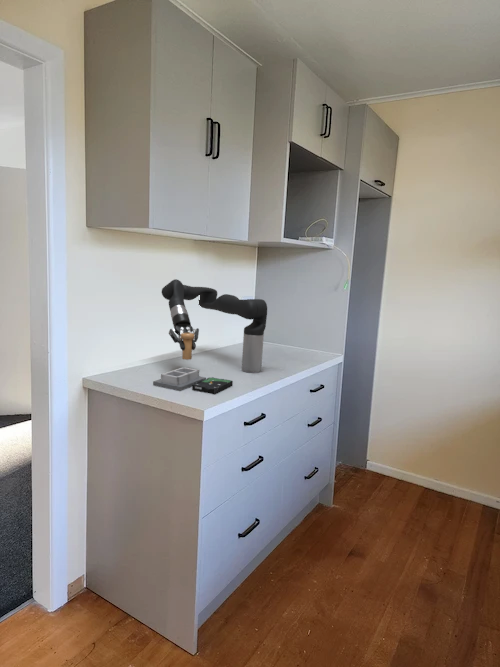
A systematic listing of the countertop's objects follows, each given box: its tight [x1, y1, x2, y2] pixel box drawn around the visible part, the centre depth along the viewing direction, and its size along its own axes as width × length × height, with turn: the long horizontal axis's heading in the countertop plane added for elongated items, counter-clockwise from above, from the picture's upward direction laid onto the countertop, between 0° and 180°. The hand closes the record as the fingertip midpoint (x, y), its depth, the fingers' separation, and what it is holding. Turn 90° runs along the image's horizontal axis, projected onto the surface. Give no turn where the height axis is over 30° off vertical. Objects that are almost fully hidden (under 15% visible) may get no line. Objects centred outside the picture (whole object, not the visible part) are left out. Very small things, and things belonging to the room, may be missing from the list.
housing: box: [152, 366, 207, 392], centre depth 178 cm, size 18×13×4 cm
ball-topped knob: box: [181, 332, 195, 361], centre depth 191 cm, size 6×6×11 cm
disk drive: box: [191, 376, 234, 395], centre depth 174 cm, size 10×3×15 cm
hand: (188, 349), depth 190 cm, fingers closed on ball-topped knob, 4 cm apart
